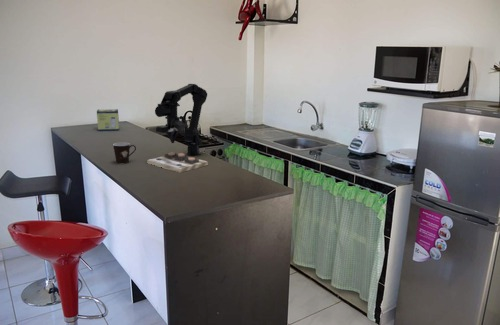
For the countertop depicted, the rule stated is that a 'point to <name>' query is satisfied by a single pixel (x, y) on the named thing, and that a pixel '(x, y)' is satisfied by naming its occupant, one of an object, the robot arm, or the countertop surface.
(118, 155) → the coffee mug
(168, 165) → the button board
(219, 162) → the countertop surface
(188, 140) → the robot arm
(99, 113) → the protein box
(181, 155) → the middle button
